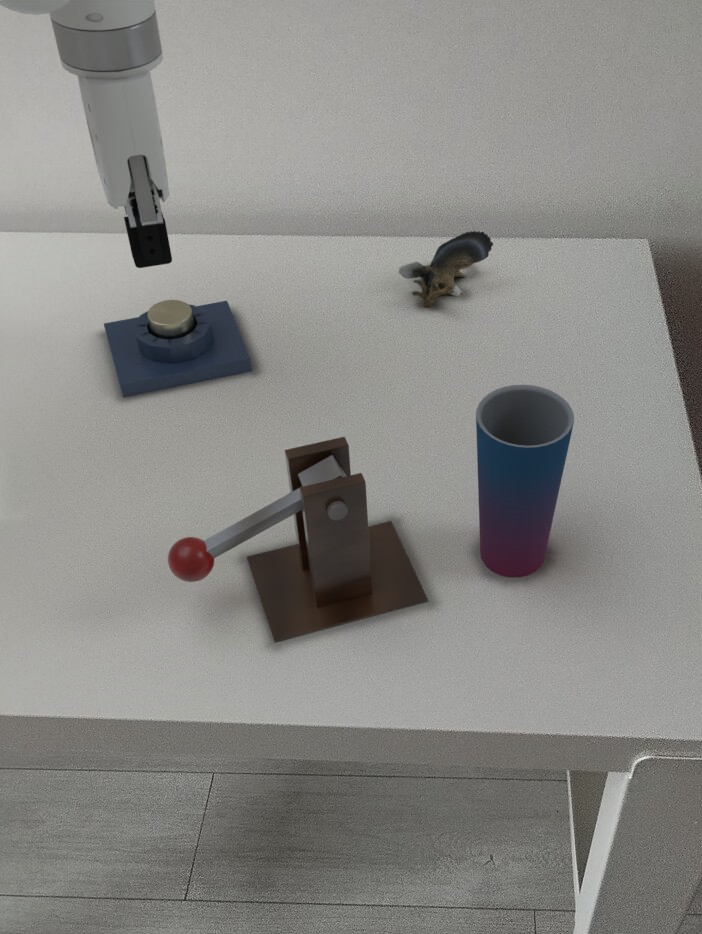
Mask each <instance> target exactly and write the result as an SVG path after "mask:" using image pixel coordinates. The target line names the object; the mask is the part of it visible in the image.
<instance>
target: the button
mask: <svg viewBox="0 0 702 934" xmlns="http://www.w3.org/2000/svg"><path fill="white" fill-rule="evenodd" d="M188 304H189V303H187V302H186V301H183V300H179V299H165V300H162V301H159V302H157V303H155V304H153V305H152V306H151V307H150V308H149V309H148V310H147V311H148V320H149V324H150V328H151V332H152V334H153V335H154V336H155V337H157V338H161V339H169V340H171V339H176V338H182V337H185V336H186V335H188V334H190V333H191V332H192V331H193V330H194V327H195V325H194V320H193V315H192V310H191V307H190V306H189V305H190V304H189V305H188Z"/></svg>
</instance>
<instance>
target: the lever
mask: <svg viewBox="0 0 702 934" xmlns="http://www.w3.org/2000/svg"><path fill="white" fill-rule="evenodd" d="M298 476H299V479H300V481H301V484H302V487H303V486H307V485H311V484H315V483H320V482H324V481H328V480H333V479H337V478H341V477H345V476H346V474H345V473H344V471H343V470H342V468H341V467H340V465H339V464H338V462H337V461H336V459H335V458H334V457H333V455H331V456H329V457H328V458H326V459H324V460H322V461H320V462H319V463H317V464H315V465H313V466H311V467H310V468H308V469H306V470H304V471H302V472H301V473H299V474H298ZM301 510H302V504H301V496H300V489H299V488H298V489H296V490H295V491H293V492H291V493H290V492H289V493H287V494H286V495H284V496H282V497H280V498H278V499H276V500H275V501H273V502H271V503H270V504H268V505H266V506H264V507H262V508H261V509H259V510H256V511H255V512H253V513H251V514H249V515H247V516H246V517H244V518H242V519H241V520H238V521H237V522H235V523H234V524H232V525H230V526H228V527H226V528H224V529H223V530H220V531H219V532H217V533H215V534H213V535H212V536H210V537H208V538H206V539H205V540H204V539H202V538H200V537H195V536H186V537H183V538H182V537H181V538H180V539H178V540H177V541H176V542H174V543H173V544H172V546H170V549H169V551H168V554H167V564H168V568H169V570H170V572H171V573H172V574H173V575H174V576H175V578H177V579H179V580H181V581H183V582H187V583H196V582H200V581H202V580H204V579H205V578H206V577H208V576H209V575H210V573H211V572H212V570H213V568H214V566H215V559H217V558H218V557H219V556H221V555H223V554H225V553H226V552H228V551H230V550H232V549H234V548H236V547H237V546H239V545H241V544H243V543H245V542H247V541H249V540H250V539H253V538H254V537H256V536H257V535H259V534H261V533H262V532H265V531H267V530H268V529H271V528H272V527H274V526H276V525H277V524H280V523H281V522H283V521H285V520H287V519H288V518H290V517H292V516H293V515H294V514H295V513H297V512H299V511H301Z"/></svg>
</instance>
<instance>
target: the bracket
mask: <svg viewBox="0 0 702 934" xmlns="http://www.w3.org/2000/svg"><path fill="white" fill-rule="evenodd" d="M347 440H348V439H347V438H346V437H345V436H340V437H337V438H332V439H328V440H323V441H319V442H315V443H310V444H305V445H301V446H296V447H292V448H287V449H284V457H285V464H286V472H287V478H288V485H289V493H291V492H293V491H295V490H296V489H298V488H299V489H300V496H301V504H302V510H301V511H299V512H297V513H295V514H294V515H292V516H293V522H294V523H293V524H294V530H295V539H296V544H292V545H288V546H284V547H279V548H276V549H272V550H268V551H264V552H263V551H262V552H260V553H256V554H251V555H248V556H247V555H246V557H245V559H246V561H247V564H248V568H249V570H250V573H251V576H252V580H253V582H254V585H255V588H256V591H257V595H258V597H259V598H258V599H259V601H260V604H261V607H262V609H263V613H264V616H265V619H266V621H267V625H268V628H269V631H270V634H271V637H272V641H273V643H274V644H275V643H279V642H282V641H287V640H290V639H294V638H298V637H301V636H305V635H309V634H313V633H317V632H320V631H324V630H327V629H331V628H335V627H339V626H343V625H346V624H351V623H354V622H358V621H361V620H365V619H369V618H372V617H376V616H381V615H384V614H387V613H391V612H395V611H398V610H402V609H405V608H410V607H414V606H417V605H420V604H425V603H428V602H429V599H428V597H427V594H426V592H425V590H424V588H423V586H422V584H421V582H420V579H419V577H418V575H417V573H416V571H415V569H414V566H413V564H412V562H411V560H410V558H409V556H408V554H407V552H406V550H405V548H404V545H403V543H402V541H401V539H400V537H399V535H398V532H397V531H396V528H395V526H394V524H393V522H392V520H389V521H385V522H380V523H376V524H373V525H369V516H368V514H369V513H368V499H367V498H368V497H367V483H366V482H367V481H366V480H365V477H364V475H363V473H362V472H359V473H355V474H354V473H353V474H352V471H351V458H350V457H351V456H350V445H349V443H348V441H347ZM331 455H333V457H334V458H335V459H336V461H337V462H338V464H339V465H340V467H341V468H342V470H343V471H344V473H345V474H346V476H345V477H341V478H337V479H333V480H328V481H324V482H320V483H315V484H311V485H307V486H303V487H302V484H301V481H300V479H299V476H298V474H299V473H301V472H302V471H304V470H306V469H308V468H310V467H311V466H313V465H315V464H317V463H319V462H320V461H322V460H324V459H326V458H328V457H329V456H331Z"/></svg>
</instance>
